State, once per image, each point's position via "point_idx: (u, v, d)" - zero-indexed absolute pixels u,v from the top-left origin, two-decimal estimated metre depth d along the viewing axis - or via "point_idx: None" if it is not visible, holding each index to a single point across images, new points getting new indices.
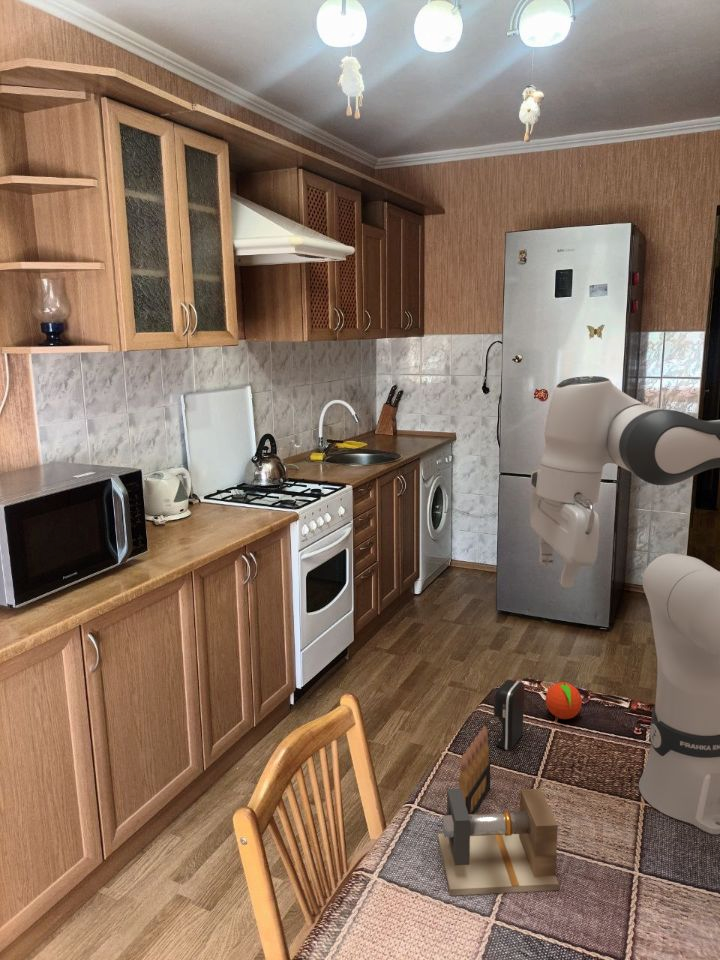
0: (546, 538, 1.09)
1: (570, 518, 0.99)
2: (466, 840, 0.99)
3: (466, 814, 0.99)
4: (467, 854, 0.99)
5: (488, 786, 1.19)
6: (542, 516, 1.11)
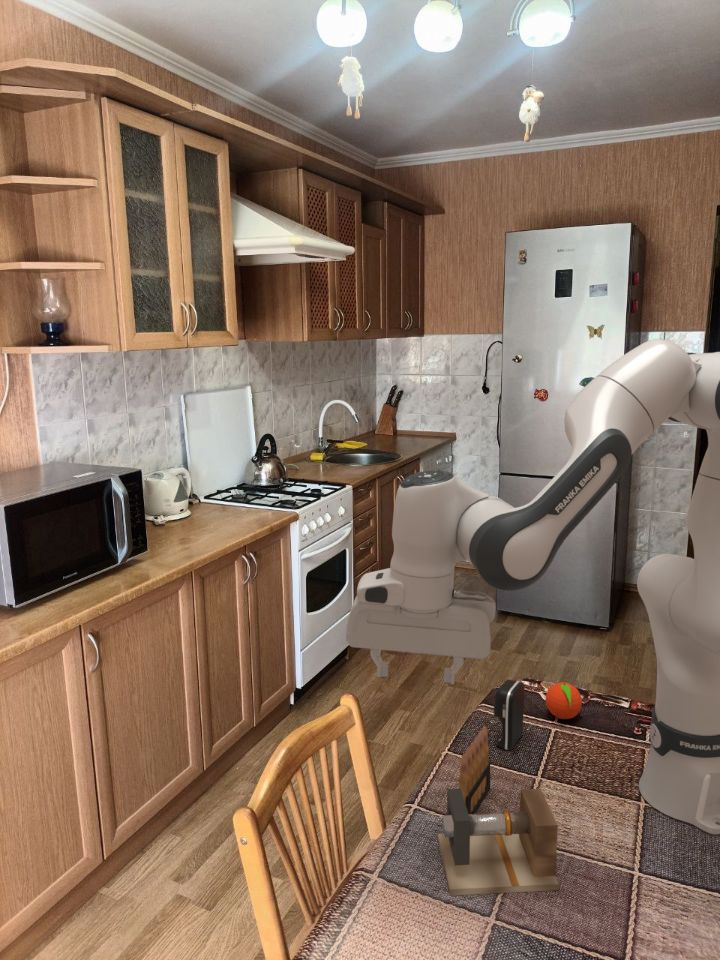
0: (409, 648, 1.00)
1: (475, 617, 0.98)
2: (466, 840, 0.99)
3: (466, 814, 0.99)
4: (467, 854, 0.99)
5: (488, 786, 1.19)
6: (387, 629, 1.00)
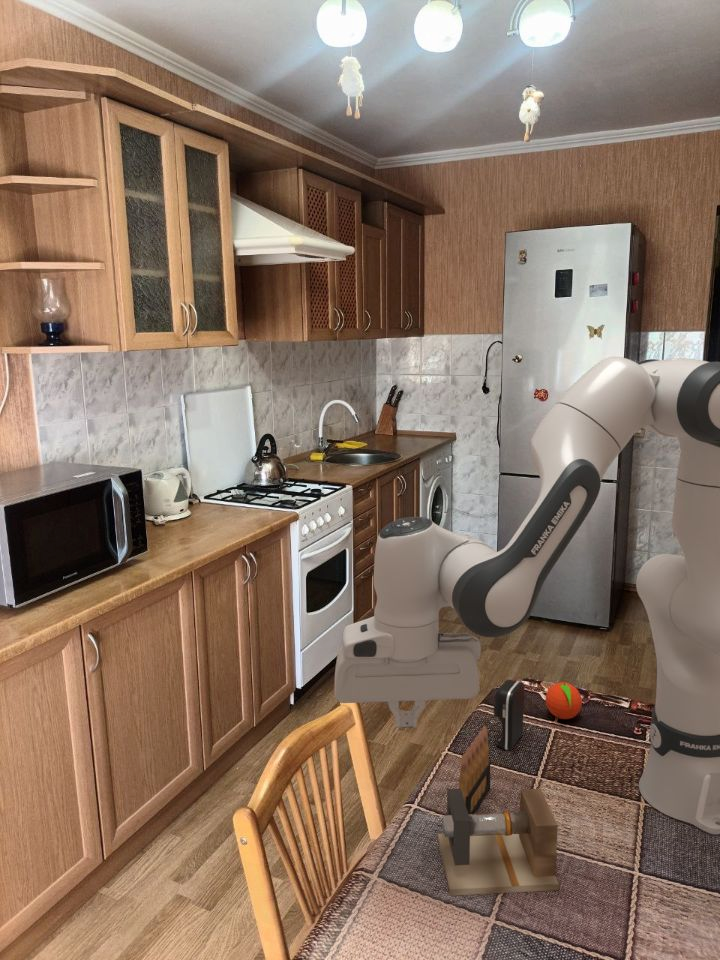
0: (400, 697, 0.99)
1: (463, 659, 0.98)
2: (466, 840, 0.99)
3: (466, 814, 0.99)
4: (467, 854, 0.99)
5: (488, 786, 1.19)
6: (377, 680, 0.98)
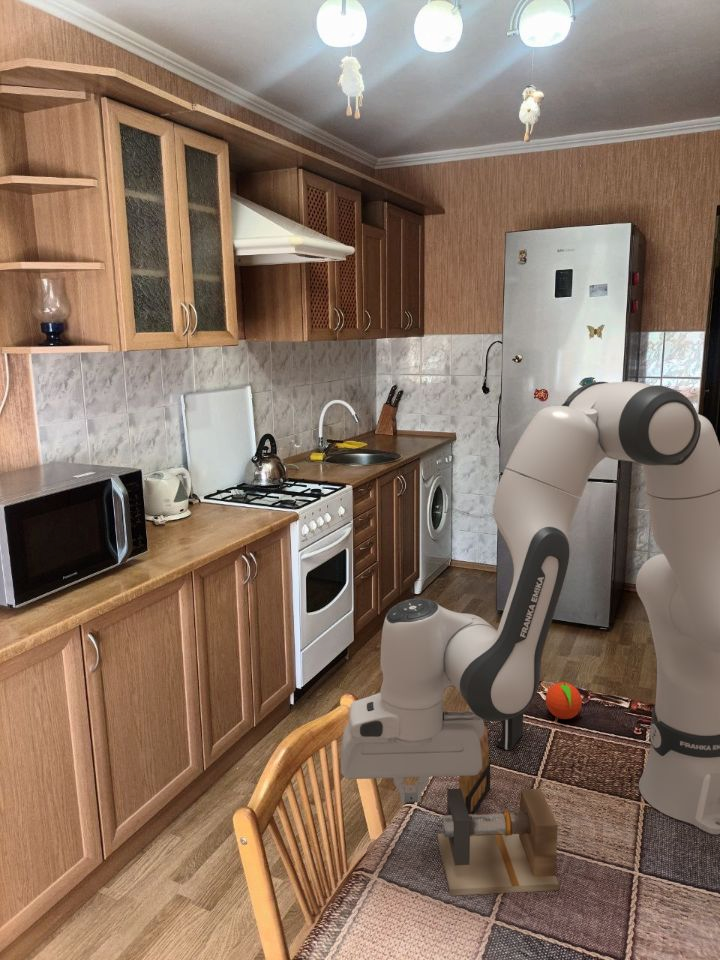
0: (405, 774, 1.01)
1: (466, 738, 1.01)
2: (466, 840, 0.99)
3: (466, 814, 0.99)
4: (467, 854, 0.99)
5: (488, 786, 1.19)
6: (382, 758, 1.01)
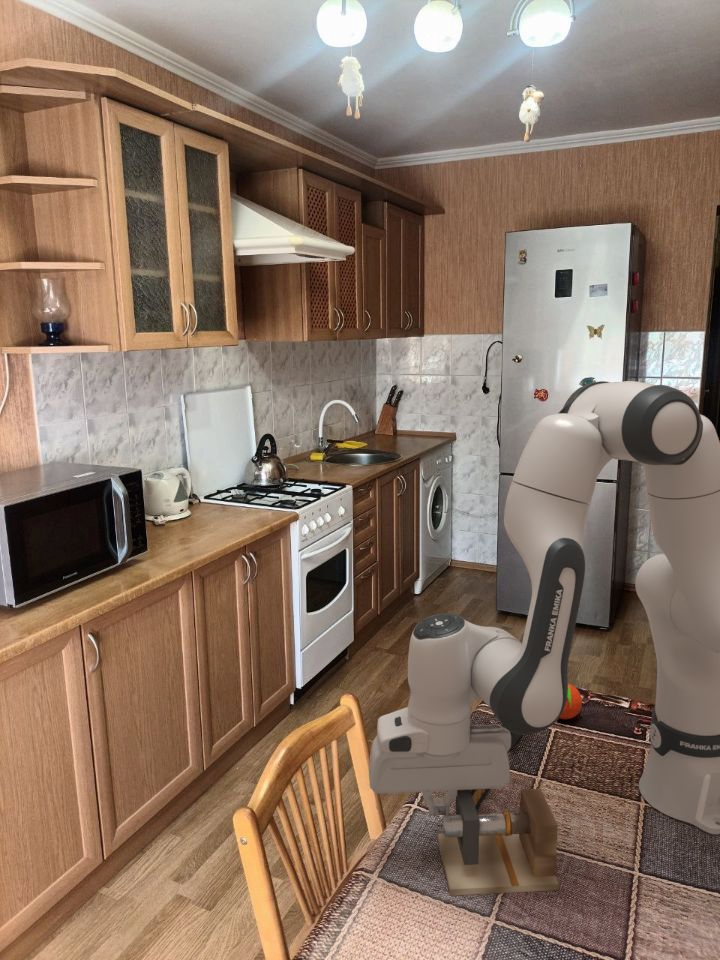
0: (433, 788, 1.02)
1: (494, 751, 1.01)
2: (475, 840, 0.99)
3: (475, 814, 0.99)
4: (476, 853, 0.99)
5: None
6: (411, 772, 1.02)
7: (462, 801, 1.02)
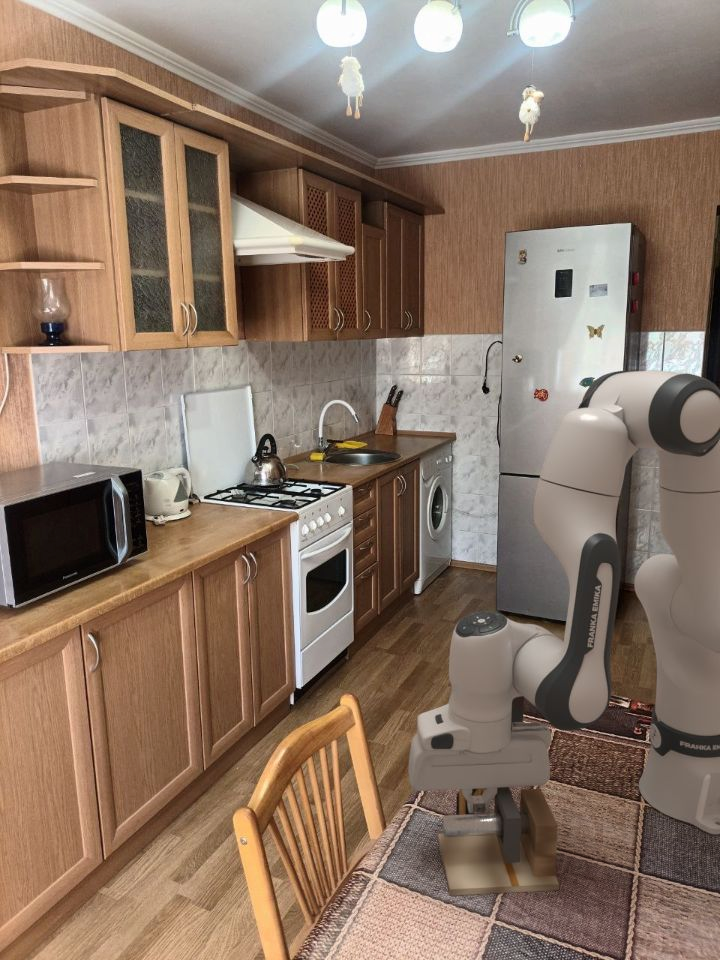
0: (474, 785, 1.02)
1: (535, 748, 1.02)
2: (517, 838, 0.99)
3: (517, 812, 0.99)
4: (518, 851, 0.99)
5: None
6: (452, 770, 1.02)
7: (502, 799, 1.02)
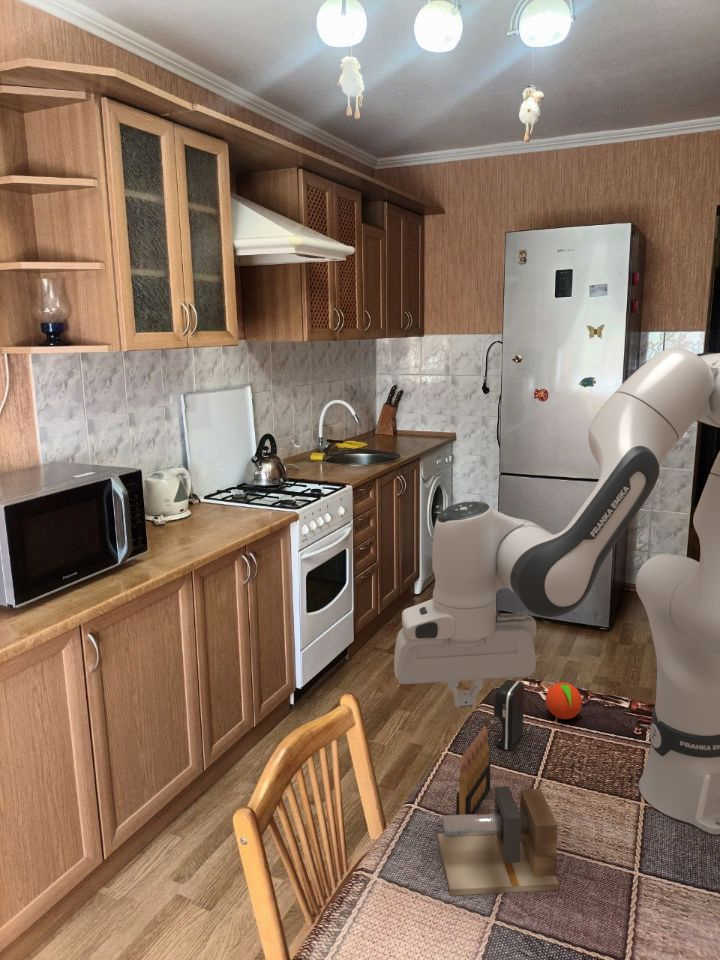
0: (460, 677, 1.02)
1: (520, 638, 1.01)
2: (517, 838, 0.99)
3: (517, 812, 0.99)
4: (518, 851, 0.99)
5: (488, 786, 1.19)
6: (437, 661, 1.01)
7: (502, 799, 1.02)
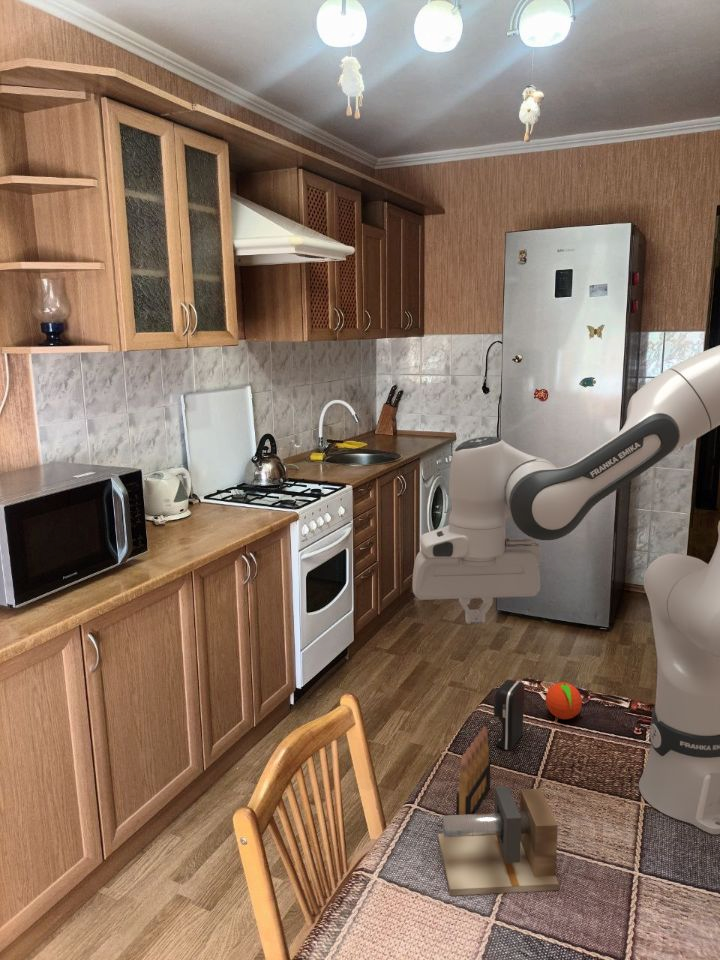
0: (471, 594, 1.13)
1: (527, 560, 1.13)
2: (517, 838, 0.99)
3: (517, 812, 0.99)
4: (518, 851, 0.99)
5: (488, 786, 1.19)
6: (451, 579, 1.13)
7: (502, 799, 1.02)
